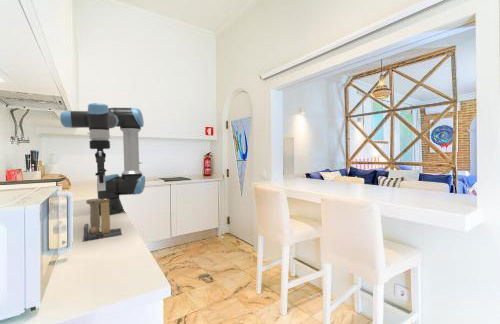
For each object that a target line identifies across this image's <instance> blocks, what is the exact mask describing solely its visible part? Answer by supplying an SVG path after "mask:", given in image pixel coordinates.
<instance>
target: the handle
mask: <svg viewBox="0 0 500 324" xmlns="http://www.w3.org/2000/svg"><path fill="white" fill-rule="evenodd" d="M85 201H86V205H89V206H90V207H89V208H90V210H89V212H90V214H89V219H90V222H89V224H90V227H91V228H92V227H98V228H99V229H100V227H101V215H99V203H100V199H98V198H93V199H86V200H85Z"/></svg>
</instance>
